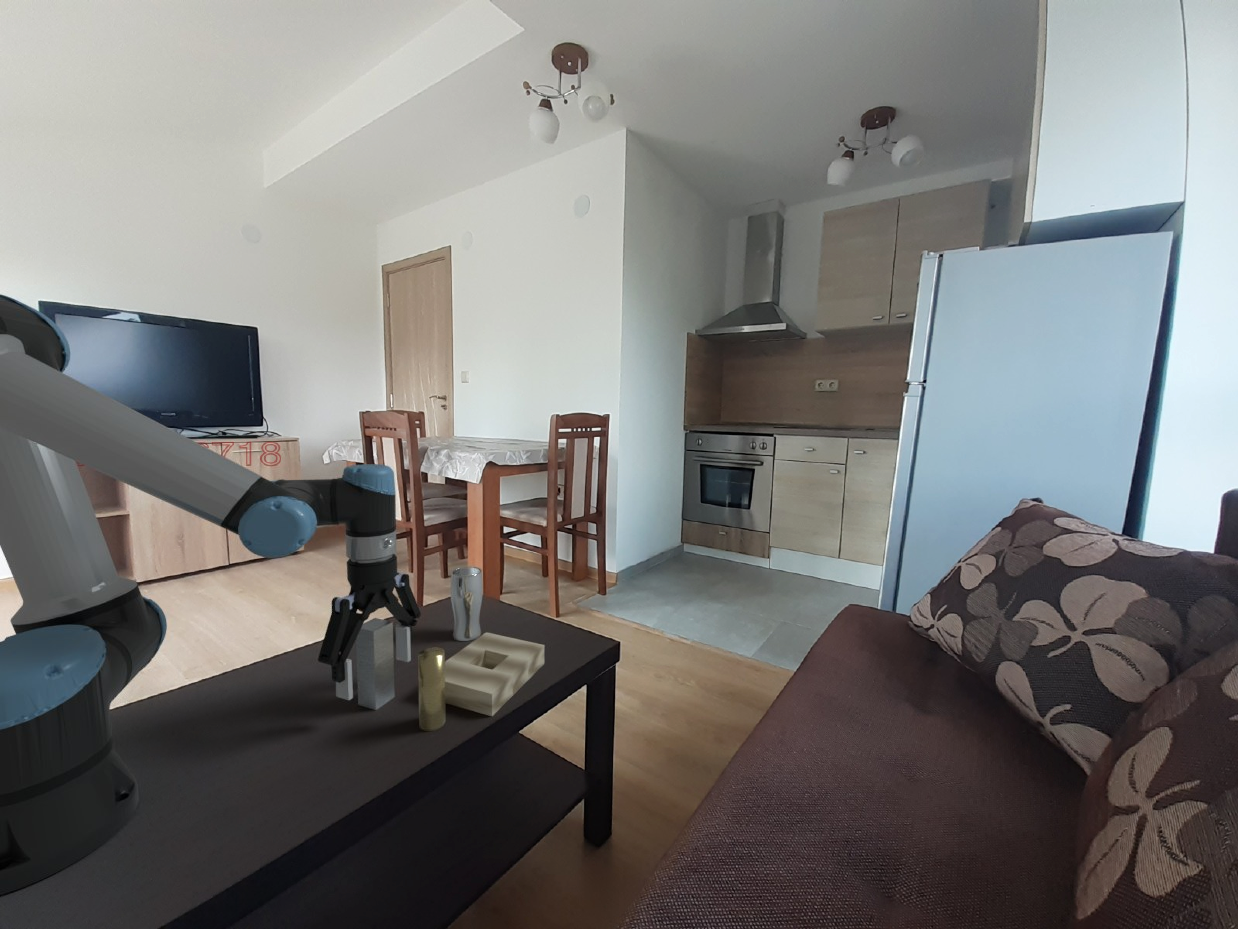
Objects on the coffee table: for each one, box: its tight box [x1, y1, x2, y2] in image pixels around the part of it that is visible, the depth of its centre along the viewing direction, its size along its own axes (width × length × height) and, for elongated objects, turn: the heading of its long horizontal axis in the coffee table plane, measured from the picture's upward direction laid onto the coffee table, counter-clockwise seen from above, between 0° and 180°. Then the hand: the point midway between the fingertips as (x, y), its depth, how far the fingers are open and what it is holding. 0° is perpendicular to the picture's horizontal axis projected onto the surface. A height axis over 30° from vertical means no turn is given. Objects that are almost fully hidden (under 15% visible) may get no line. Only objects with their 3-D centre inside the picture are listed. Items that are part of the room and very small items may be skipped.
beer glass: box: [449, 566, 484, 642], centre depth 106 cm, size 7×7×15 cm
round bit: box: [417, 646, 446, 732], centre depth 76 cm, size 4×4×12 cm
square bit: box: [355, 617, 396, 711], centre depth 82 cm, size 4×4×14 cm
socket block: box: [445, 632, 545, 717], centre depth 90 cm, size 18×14×4 cm
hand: (376, 677), depth 82 cm, fingers open, 12 cm apart
